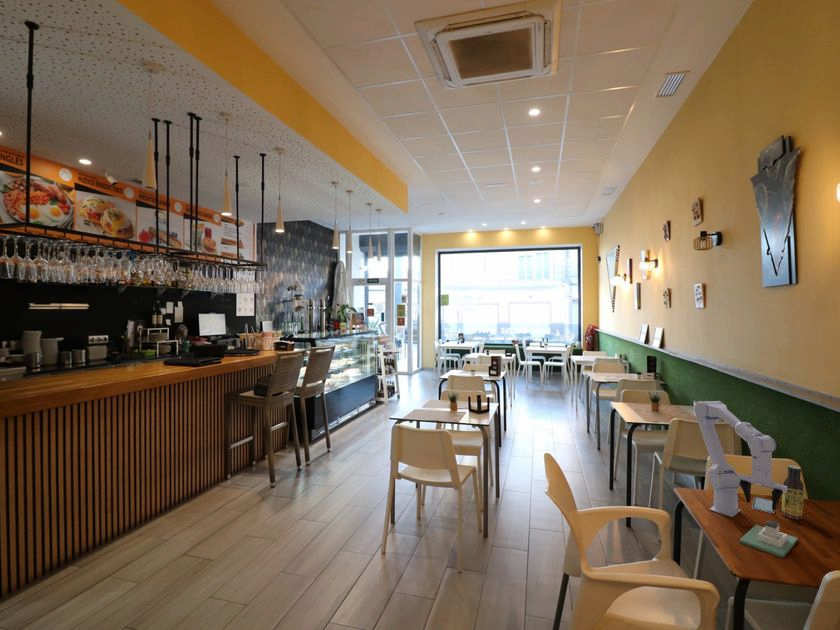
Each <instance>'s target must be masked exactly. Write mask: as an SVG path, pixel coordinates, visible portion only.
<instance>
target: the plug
mask: <svg viewBox="0 0 840 630" xmlns="http://www.w3.org/2000/svg"><path fill="white" fill-rule="evenodd" d="M764 527H765V536H768V537H771V538H774V539H777V540H779V532H780V523H779V522H777V521H775V520H774V521H773V520H771V519H767V521H765V522H764Z"/></svg>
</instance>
